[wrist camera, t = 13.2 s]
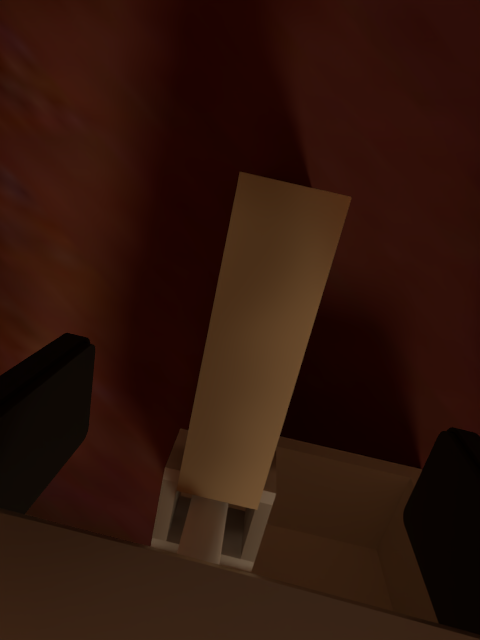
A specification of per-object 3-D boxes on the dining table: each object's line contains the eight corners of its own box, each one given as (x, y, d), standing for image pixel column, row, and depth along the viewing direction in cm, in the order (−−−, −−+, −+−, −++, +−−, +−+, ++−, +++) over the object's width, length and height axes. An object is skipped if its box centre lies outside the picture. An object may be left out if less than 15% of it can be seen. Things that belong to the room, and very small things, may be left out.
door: (324, 192, 21) (378, 202, 10) (261, 421, 27) (249, 595, 15) (247, 174, 21) (213, 165, 10) (199, 406, 27) (142, 569, 15)
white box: (442, 424, 25) (621, 683, 12) (383, 550, 29) (468, 846, 16) (207, 369, 26) (133, 567, 12) (180, 502, 30) (103, 756, 17)
